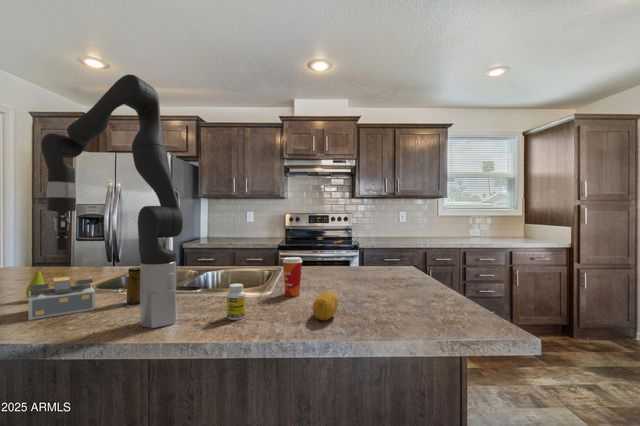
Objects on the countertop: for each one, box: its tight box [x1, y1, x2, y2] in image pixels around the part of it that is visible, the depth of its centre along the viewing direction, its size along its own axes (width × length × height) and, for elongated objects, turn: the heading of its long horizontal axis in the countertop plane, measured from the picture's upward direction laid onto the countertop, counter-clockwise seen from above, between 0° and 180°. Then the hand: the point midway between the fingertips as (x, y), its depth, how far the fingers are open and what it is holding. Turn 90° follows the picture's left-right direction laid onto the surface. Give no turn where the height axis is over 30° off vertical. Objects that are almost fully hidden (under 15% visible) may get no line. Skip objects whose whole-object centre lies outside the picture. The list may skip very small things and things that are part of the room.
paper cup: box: [282, 256, 303, 297], centre depth 127 cm, size 8×8×14 cm
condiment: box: [122, 266, 140, 308], centre depth 114 cm, size 7×8×12 cm
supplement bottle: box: [226, 283, 246, 321], centre depth 99 cm, size 5×5×10 cm
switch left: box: [31, 283, 50, 291], centre depth 102 cm, size 10×4×1 cm, turn 41°
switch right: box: [73, 278, 94, 286], centre depth 109 cm, size 10×4×1 cm, turn 41°
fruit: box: [25, 265, 45, 299], centre depth 116 cm, size 6×6×12 cm
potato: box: [312, 290, 339, 321], centre depth 100 cm, size 7×14×7 cm, turn 167°
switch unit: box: [28, 283, 96, 321], centre depth 105 cm, size 12×16×7 cm
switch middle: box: [52, 276, 72, 294], centre depth 105 cm, size 10×4×1 cm, turn 41°
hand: (61, 249), depth 108 cm, fingers closed
